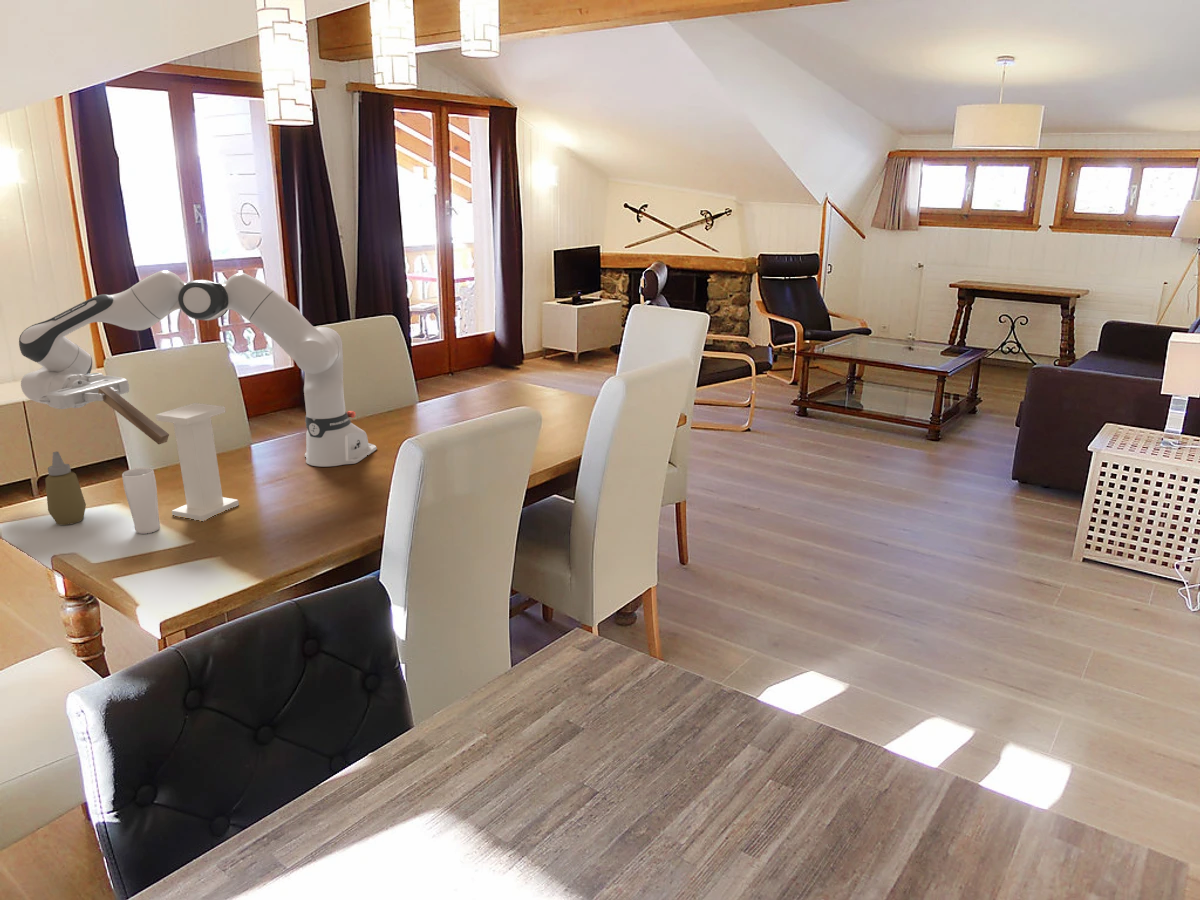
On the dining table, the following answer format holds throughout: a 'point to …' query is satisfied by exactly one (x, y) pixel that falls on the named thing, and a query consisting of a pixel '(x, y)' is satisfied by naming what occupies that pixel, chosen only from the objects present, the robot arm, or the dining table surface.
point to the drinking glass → (142, 499)
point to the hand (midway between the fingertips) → (110, 395)
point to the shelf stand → (198, 460)
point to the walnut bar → (134, 416)
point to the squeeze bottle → (64, 493)
